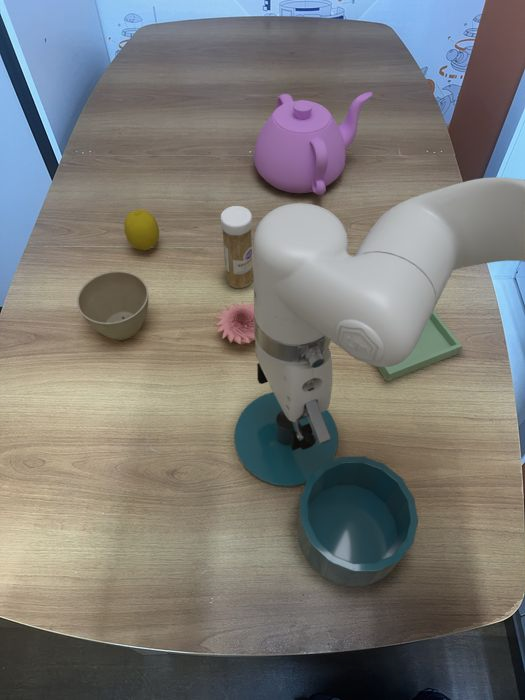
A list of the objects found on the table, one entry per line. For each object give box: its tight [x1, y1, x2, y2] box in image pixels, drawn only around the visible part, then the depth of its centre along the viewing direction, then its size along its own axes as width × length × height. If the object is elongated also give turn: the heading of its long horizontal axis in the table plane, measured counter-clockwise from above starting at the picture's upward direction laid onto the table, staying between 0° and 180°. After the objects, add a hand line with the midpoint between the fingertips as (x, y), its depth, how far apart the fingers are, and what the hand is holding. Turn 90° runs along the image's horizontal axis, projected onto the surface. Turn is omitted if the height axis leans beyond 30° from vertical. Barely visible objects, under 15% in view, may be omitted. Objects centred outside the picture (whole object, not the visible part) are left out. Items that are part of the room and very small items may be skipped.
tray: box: [376, 309, 463, 382], centre depth 81 cm, size 15×12×2 cm
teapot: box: [253, 91, 373, 195], centre depth 99 cm, size 22×22×14 cm
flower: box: [213, 300, 255, 345], centre depth 79 cm, size 8×8×6 cm
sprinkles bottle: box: [220, 205, 254, 289], centre depth 83 cm, size 5×5×14 cm
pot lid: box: [234, 391, 339, 487], centre depth 69 cm, size 14×14×6 cm
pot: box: [296, 455, 419, 588], centre depth 62 cm, size 13×13×8 cm
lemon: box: [123, 209, 160, 251], centre depth 89 cm, size 6×6×8 cm
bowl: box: [76, 270, 149, 341], centre depth 80 cm, size 10×10×7 cm
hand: (286, 409), depth 65 cm, fingers open, 9 cm apart
